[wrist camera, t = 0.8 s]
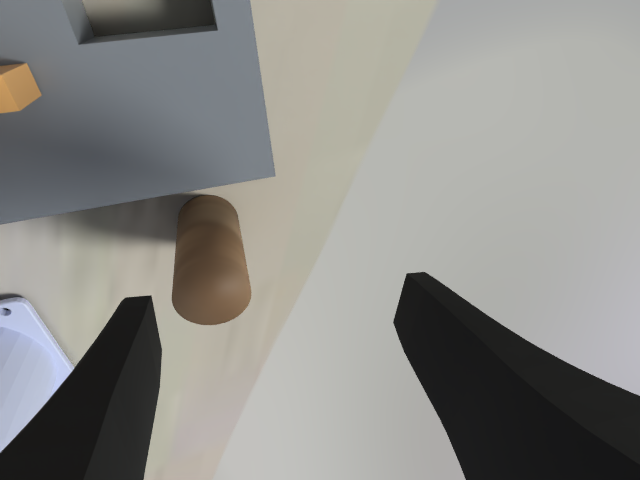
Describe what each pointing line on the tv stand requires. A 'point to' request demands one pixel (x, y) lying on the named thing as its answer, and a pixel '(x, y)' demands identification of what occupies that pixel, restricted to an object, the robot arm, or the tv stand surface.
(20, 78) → the cap
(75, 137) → the housing
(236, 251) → the peg
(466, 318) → the robot arm
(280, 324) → the tv stand surface
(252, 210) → the tv stand surface
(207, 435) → the tv stand surface
